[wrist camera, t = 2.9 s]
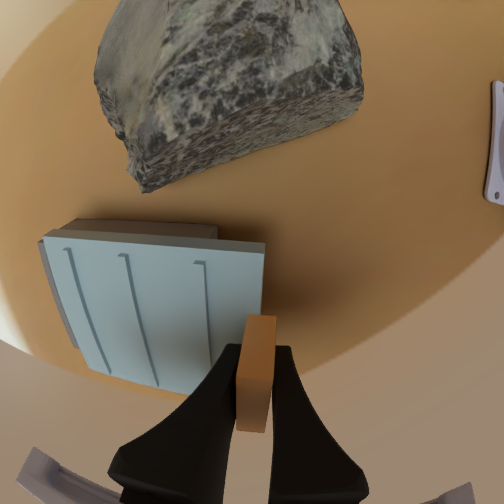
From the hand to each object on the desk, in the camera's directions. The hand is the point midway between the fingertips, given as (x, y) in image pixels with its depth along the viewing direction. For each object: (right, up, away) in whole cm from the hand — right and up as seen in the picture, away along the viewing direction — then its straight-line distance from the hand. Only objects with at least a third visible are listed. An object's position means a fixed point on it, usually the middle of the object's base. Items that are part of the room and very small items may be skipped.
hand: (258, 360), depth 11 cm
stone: (-1, +13, +1) cm, 13 cm away
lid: (-5, +1, +2) cm, 6 cm away
